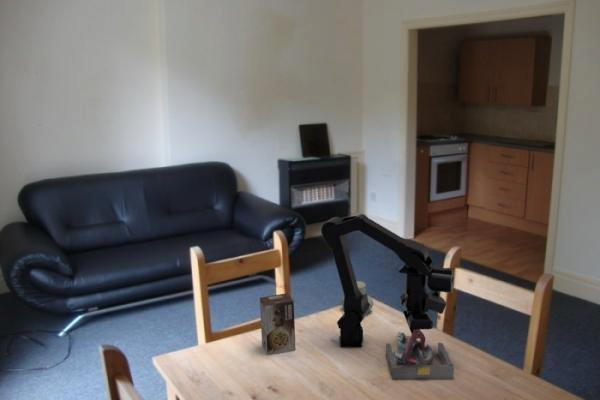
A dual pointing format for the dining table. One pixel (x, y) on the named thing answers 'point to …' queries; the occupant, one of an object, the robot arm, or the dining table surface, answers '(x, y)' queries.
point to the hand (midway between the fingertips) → (414, 337)
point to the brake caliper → (413, 349)
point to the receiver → (421, 367)
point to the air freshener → (363, 290)
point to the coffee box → (277, 323)
